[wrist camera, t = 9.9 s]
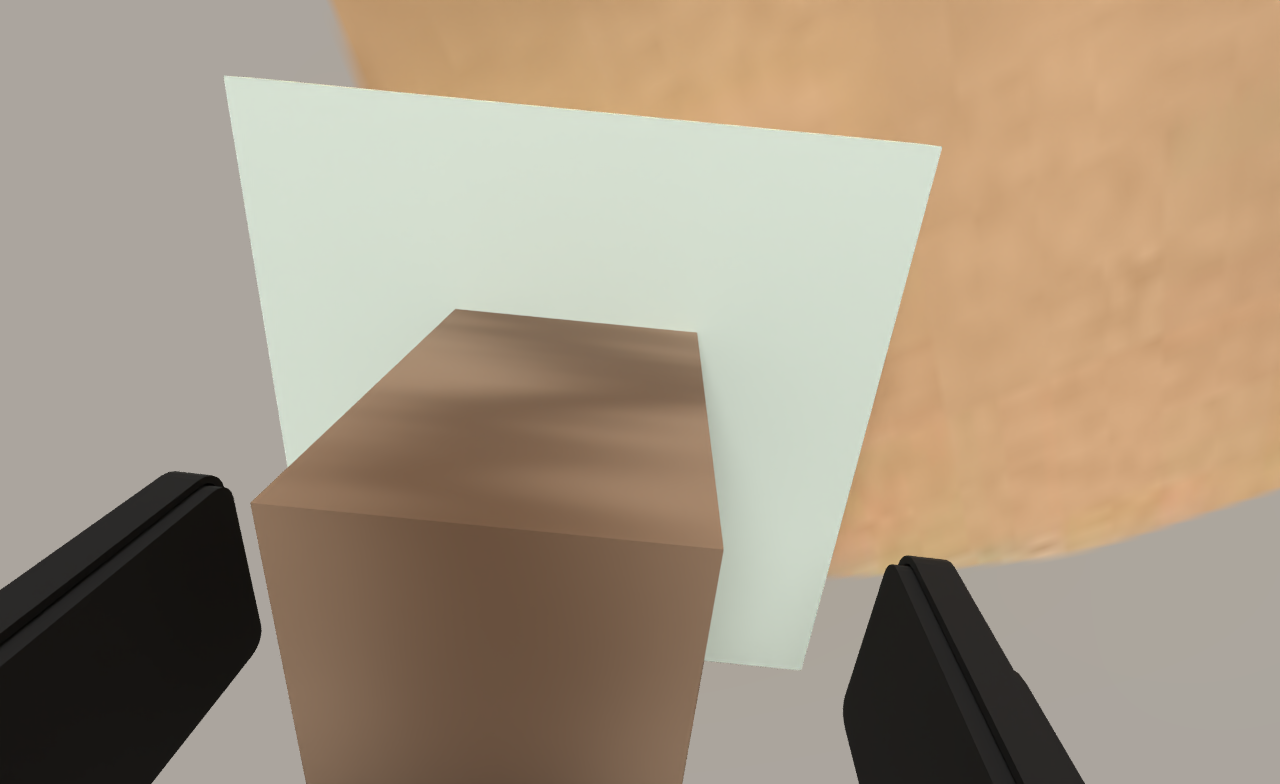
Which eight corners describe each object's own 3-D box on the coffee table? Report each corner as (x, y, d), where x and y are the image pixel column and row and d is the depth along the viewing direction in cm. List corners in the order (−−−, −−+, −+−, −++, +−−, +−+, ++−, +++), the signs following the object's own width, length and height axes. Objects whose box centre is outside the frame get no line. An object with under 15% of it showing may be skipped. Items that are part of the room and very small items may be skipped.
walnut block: (697, 332, 13) (724, 550, 7) (671, 530, 15) (671, 841, 9) (455, 308, 13) (250, 502, 7) (462, 510, 15) (310, 806, 9)
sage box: (853, 133, 17) (942, 146, 11) (769, 531, 22) (801, 670, 17) (367, 85, 17) (223, 75, 11) (400, 495, 22) (312, 621, 17)
